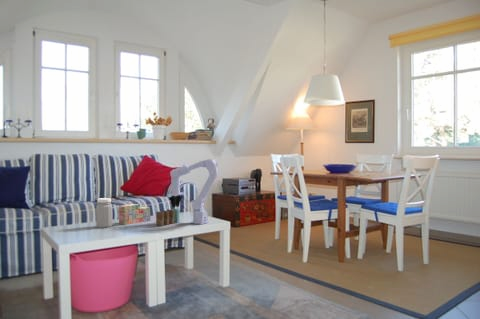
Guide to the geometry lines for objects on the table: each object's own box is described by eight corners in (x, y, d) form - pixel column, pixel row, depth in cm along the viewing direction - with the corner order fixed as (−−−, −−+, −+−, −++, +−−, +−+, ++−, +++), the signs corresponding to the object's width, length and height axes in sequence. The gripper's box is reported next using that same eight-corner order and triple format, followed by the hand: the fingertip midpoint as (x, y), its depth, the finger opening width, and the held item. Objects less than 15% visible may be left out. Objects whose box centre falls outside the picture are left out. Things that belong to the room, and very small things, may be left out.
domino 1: (158, 225, 253) (158, 211, 253) (163, 226, 250) (163, 212, 250) (156, 225, 252) (156, 211, 251) (161, 226, 249) (161, 212, 249)
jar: (107, 228, 242) (107, 199, 241) (93, 228, 244) (92, 199, 243) (115, 225, 251) (115, 197, 251) (101, 225, 253) (101, 197, 253)
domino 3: (168, 222, 262) (168, 209, 261) (174, 223, 259) (174, 210, 259) (166, 223, 260) (166, 209, 260) (172, 223, 257) (172, 210, 257)
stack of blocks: (144, 219, 275) (144, 202, 274) (150, 220, 271) (150, 202, 270) (118, 224, 258) (118, 205, 257) (124, 225, 254) (124, 206, 253)
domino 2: (163, 223, 257) (163, 210, 257) (169, 224, 255) (169, 211, 254) (161, 224, 256) (161, 210, 256) (167, 225, 253) (167, 211, 253)
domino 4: (173, 221, 266) (173, 208, 266) (179, 222, 263) (179, 209, 263) (172, 222, 264) (171, 208, 264) (177, 222, 262) (177, 209, 261)
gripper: (178, 185, 271) (178, 205, 272) (163, 187, 259) (163, 207, 259) (186, 186, 268) (186, 205, 268) (171, 188, 255) (171, 208, 256)
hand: (175, 206), depth 264 cm, fingers open, 3 cm apart
